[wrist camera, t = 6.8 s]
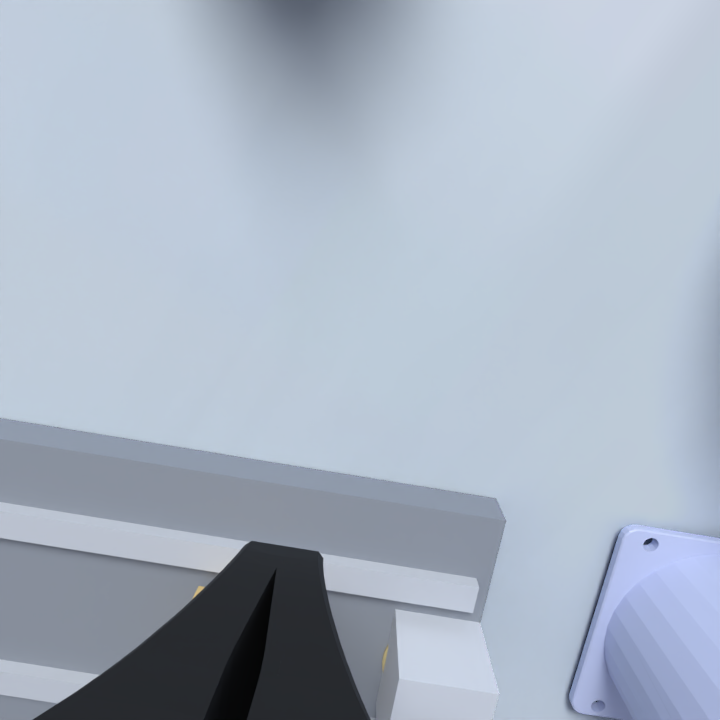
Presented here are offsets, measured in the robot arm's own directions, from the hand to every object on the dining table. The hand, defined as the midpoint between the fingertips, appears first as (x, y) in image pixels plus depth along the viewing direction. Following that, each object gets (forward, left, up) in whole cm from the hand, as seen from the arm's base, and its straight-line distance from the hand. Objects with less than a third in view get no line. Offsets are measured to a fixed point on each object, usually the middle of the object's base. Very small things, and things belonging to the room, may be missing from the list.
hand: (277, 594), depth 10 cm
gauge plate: (+3, +8, -9) cm, 13 cm away
